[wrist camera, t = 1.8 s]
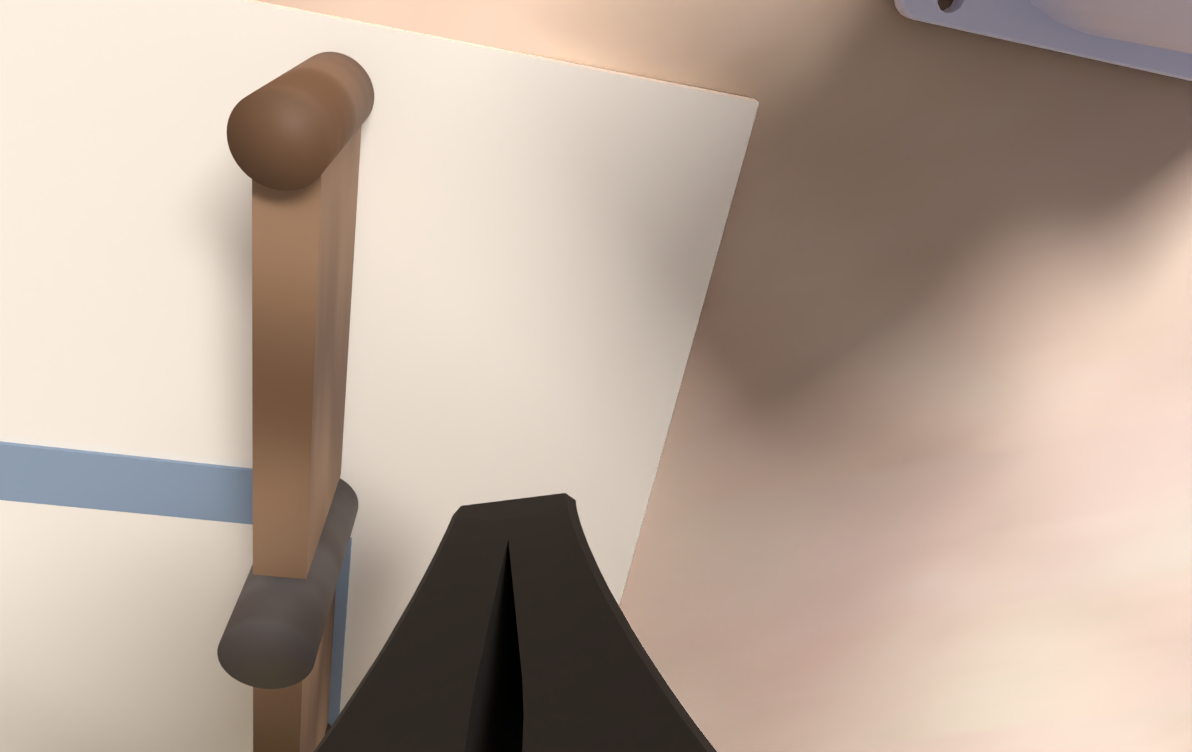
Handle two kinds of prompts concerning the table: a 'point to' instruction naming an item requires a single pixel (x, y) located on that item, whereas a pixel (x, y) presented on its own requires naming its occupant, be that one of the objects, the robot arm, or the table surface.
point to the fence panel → (300, 293)
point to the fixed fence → (291, 640)
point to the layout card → (376, 336)
